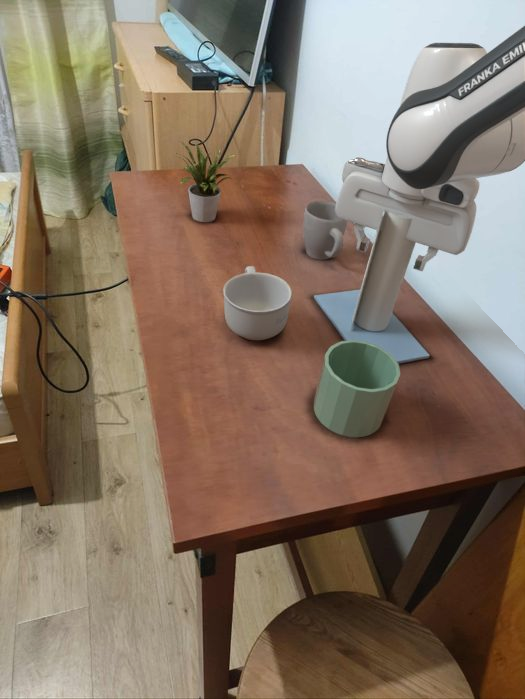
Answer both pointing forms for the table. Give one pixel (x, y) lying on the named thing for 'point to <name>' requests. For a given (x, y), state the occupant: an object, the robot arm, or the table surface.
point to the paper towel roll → (384, 274)
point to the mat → (389, 339)
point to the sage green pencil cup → (355, 388)
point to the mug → (323, 230)
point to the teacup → (256, 304)
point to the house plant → (204, 185)
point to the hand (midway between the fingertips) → (389, 258)
